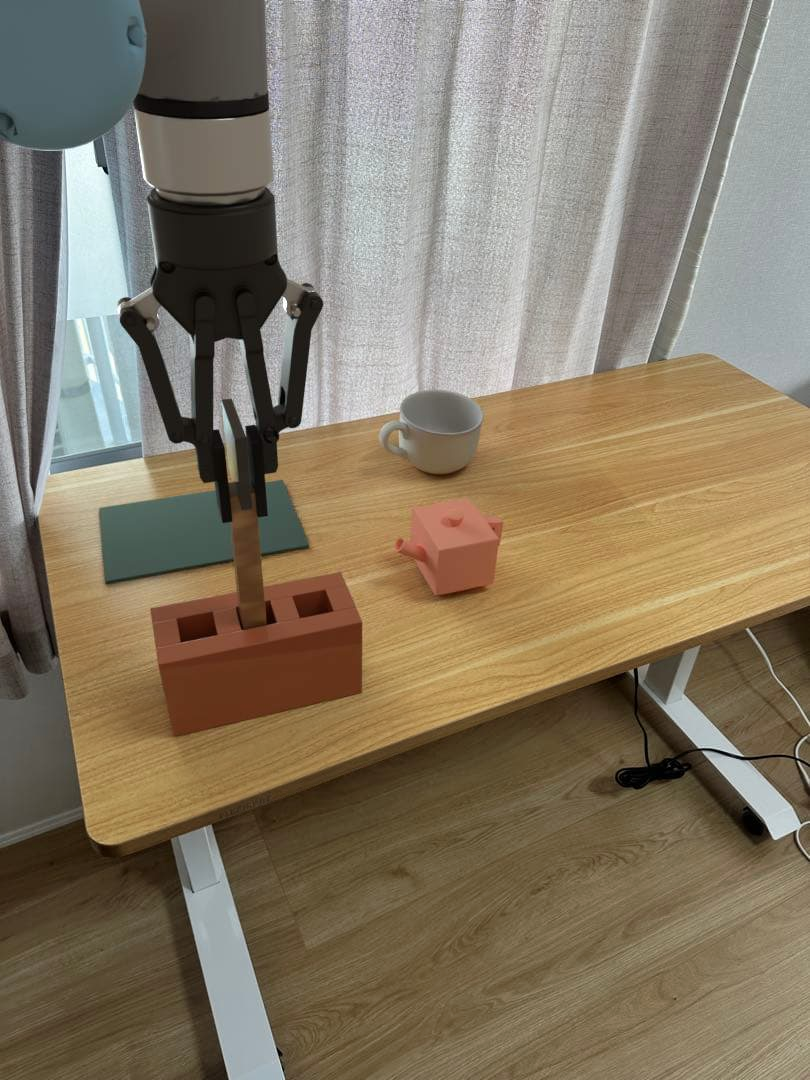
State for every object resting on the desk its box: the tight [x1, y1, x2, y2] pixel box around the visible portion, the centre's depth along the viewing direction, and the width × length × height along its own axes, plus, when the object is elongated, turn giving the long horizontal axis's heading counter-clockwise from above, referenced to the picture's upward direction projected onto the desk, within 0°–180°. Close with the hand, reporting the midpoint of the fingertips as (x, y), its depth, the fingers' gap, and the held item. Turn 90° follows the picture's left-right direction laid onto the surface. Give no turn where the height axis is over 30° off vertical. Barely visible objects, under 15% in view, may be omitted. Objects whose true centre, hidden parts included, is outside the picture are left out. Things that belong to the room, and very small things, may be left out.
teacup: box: [378, 389, 485, 475], centre depth 104 cm, size 14×11×8 cm
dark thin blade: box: [220, 398, 267, 630], centre depth 63 cm, size 2×6×20 cm, turn 19°
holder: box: [149, 571, 363, 737], centre depth 72 cm, size 7×17×9 cm, turn 109°
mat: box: [98, 479, 310, 585], centre depth 93 cm, size 22×14×1 cm, turn 109°
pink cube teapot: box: [393, 497, 505, 597], centre depth 86 cm, size 8×12×8 cm, turn 110°
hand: (242, 509), depth 62 cm, fingers closed on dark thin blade, 2 cm apart
